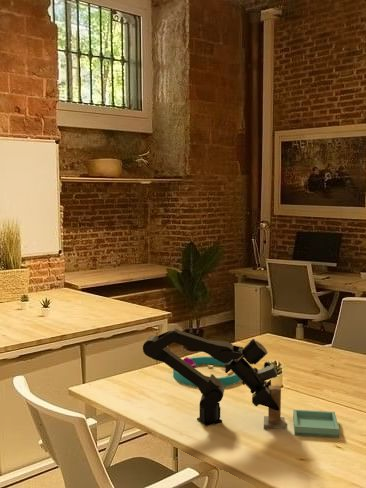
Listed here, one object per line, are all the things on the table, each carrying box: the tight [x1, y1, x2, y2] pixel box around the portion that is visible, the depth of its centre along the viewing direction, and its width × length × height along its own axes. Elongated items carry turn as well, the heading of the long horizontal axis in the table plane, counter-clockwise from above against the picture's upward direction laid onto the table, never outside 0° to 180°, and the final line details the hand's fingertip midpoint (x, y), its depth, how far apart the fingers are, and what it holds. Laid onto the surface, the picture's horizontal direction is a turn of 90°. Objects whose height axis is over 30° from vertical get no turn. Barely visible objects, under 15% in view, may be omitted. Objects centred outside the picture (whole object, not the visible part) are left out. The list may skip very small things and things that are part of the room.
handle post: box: [263, 385, 286, 431], centre depth 192 cm, size 7×7×13 cm
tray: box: [292, 409, 340, 439], centre depth 190 cm, size 14×14×3 cm
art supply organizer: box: [172, 355, 242, 387], centre depth 243 cm, size 30×30×6 cm
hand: (278, 406), depth 191 cm, fingers open, 6 cm apart
